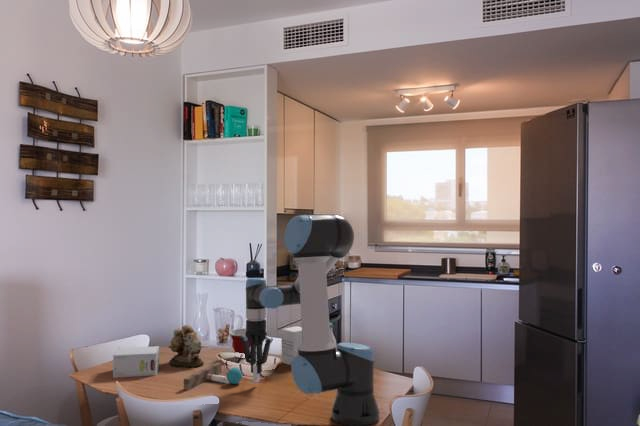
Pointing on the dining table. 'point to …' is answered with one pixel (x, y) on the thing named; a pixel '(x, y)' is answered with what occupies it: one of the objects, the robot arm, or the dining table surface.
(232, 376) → the ball
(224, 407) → the dining table surface
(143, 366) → the supplement box
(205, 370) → the stopper wall
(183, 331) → the brown lumpy figure
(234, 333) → the plastic cup
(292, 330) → the supplement box
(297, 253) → the robot arm
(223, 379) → the pin
